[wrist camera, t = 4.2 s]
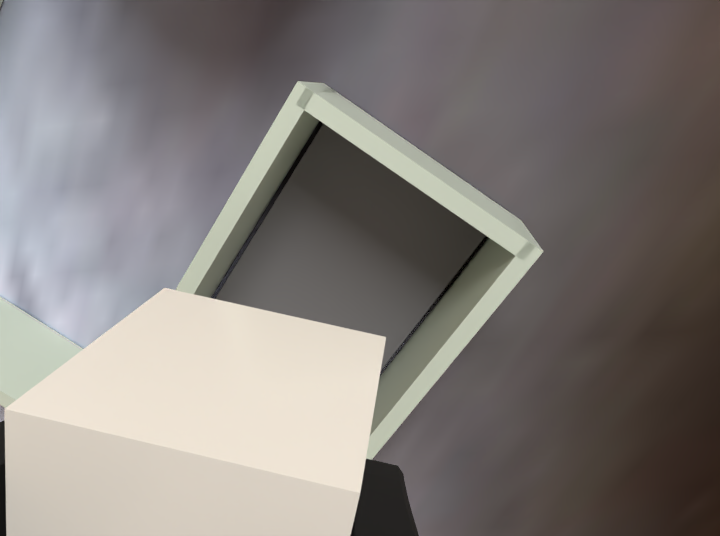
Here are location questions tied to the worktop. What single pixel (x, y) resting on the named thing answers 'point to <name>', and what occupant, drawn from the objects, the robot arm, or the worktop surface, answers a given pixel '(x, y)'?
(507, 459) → the worktop surface
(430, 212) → the pad
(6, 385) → the caddy
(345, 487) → the cube
